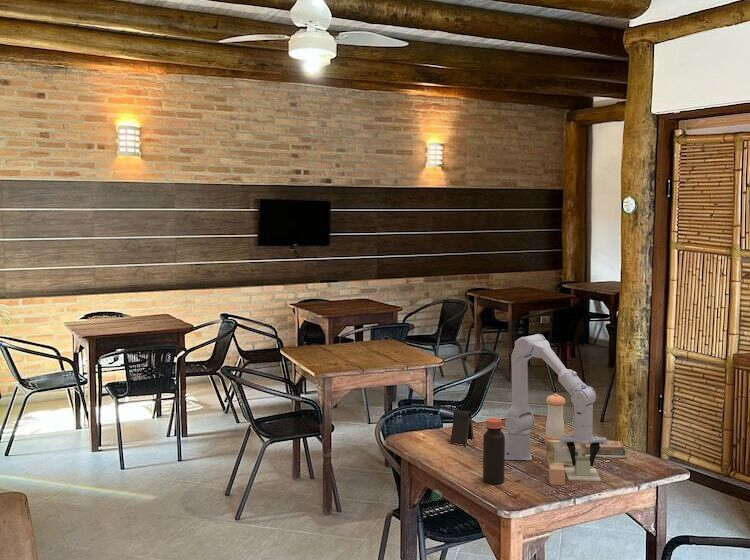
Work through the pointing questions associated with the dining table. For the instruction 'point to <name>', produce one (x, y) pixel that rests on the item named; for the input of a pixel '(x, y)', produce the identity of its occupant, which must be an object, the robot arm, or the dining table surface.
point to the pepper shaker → (554, 418)
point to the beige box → (550, 453)
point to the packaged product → (609, 450)
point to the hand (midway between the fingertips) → (582, 465)
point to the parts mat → (572, 476)
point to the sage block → (582, 466)
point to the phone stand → (462, 427)
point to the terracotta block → (557, 474)
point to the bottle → (493, 452)
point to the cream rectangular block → (564, 453)
